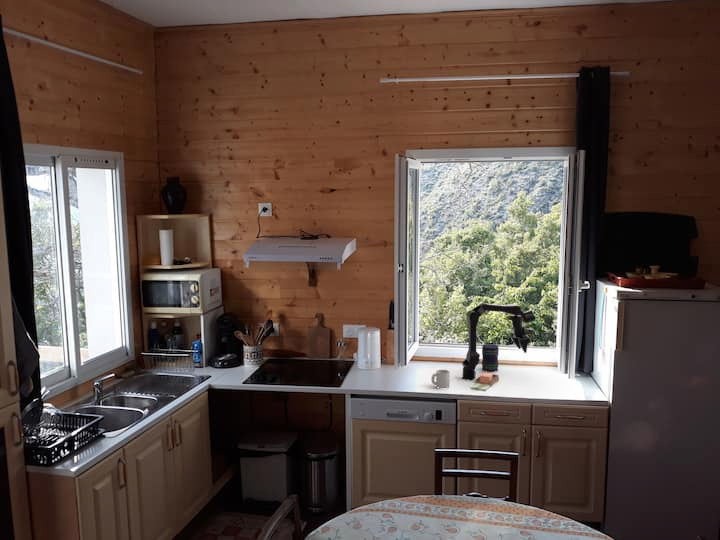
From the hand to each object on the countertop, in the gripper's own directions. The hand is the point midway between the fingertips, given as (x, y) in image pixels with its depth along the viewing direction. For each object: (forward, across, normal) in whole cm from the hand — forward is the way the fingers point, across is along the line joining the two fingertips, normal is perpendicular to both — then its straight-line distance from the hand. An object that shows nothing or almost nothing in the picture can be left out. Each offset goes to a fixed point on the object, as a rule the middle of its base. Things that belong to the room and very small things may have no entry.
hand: (522, 350), depth 354 cm
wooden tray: (+9, -13, +29) cm, 33 cm away
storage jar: (+12, +15, +18) cm, 26 cm away
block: (+8, -11, +28) cm, 31 cm away
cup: (+4, -14, +54) cm, 56 cm away
